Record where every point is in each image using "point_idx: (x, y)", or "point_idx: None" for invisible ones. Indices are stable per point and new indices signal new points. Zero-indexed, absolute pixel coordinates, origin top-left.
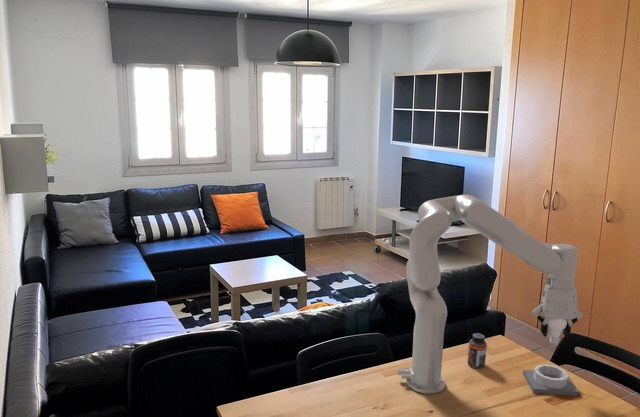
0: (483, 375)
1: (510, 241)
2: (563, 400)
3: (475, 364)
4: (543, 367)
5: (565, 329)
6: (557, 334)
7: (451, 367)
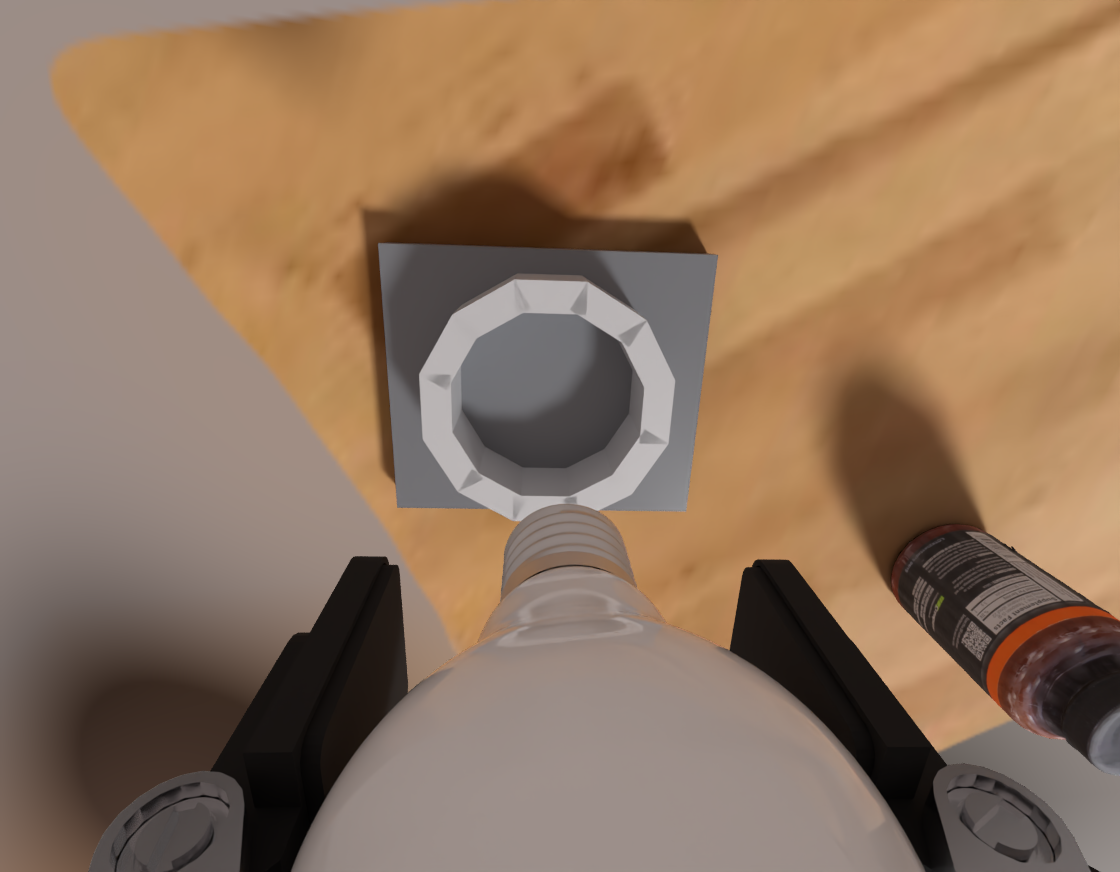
0: (952, 449)
1: None
2: (519, 166)
3: (991, 538)
4: (574, 488)
5: (364, 723)
6: (566, 585)
7: (1111, 522)
